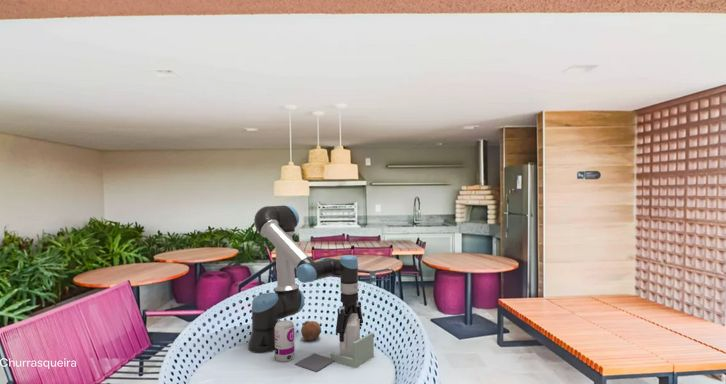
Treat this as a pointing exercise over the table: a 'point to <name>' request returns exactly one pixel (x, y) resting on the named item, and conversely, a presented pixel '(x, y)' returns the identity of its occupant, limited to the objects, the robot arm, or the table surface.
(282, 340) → the supplement can
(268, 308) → the robot arm
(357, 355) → the rack
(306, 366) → the mat
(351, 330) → the milk carton
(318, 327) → the onion
